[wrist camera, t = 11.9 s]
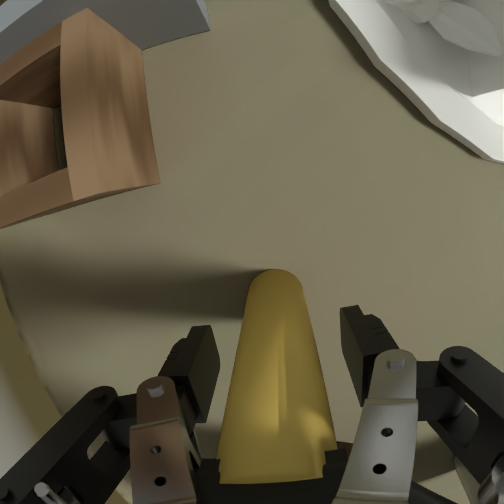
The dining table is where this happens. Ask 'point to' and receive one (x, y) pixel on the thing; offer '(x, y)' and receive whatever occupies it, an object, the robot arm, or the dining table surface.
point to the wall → (110, 10)
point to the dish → (440, 61)
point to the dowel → (275, 391)
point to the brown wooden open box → (73, 120)
